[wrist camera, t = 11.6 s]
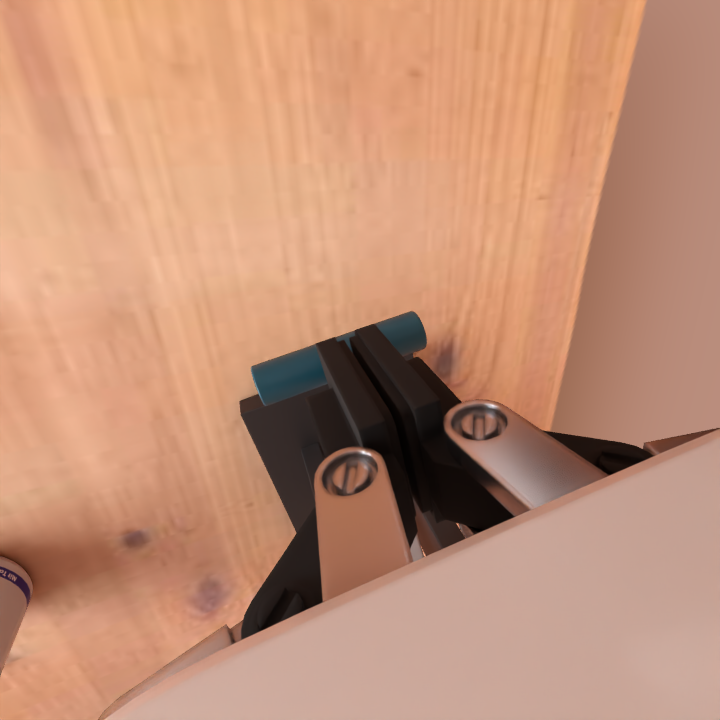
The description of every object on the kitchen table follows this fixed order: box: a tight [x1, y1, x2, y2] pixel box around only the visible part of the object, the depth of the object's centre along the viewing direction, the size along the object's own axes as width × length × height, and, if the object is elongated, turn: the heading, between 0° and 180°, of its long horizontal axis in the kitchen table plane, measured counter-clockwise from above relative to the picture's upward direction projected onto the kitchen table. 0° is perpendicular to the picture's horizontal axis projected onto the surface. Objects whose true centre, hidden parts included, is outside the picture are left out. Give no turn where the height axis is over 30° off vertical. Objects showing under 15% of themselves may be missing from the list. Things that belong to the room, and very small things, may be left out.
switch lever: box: [251, 311, 427, 561], centre depth 14 cm, size 13×5×2 cm, turn 13°
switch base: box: [240, 353, 466, 556], centre depth 19 cm, size 11×9×13 cm
